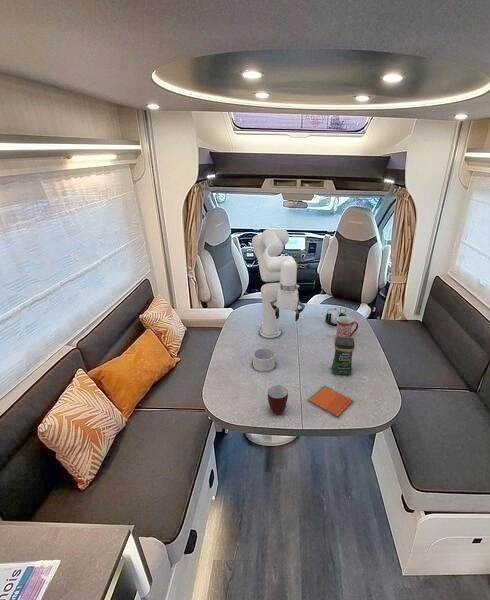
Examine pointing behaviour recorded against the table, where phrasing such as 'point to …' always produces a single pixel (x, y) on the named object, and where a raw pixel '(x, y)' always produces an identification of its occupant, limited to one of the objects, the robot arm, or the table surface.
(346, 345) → the coffee jar
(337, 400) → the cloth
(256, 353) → the pot
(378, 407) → the table surface
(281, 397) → the mug
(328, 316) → the headphones
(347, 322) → the mug
